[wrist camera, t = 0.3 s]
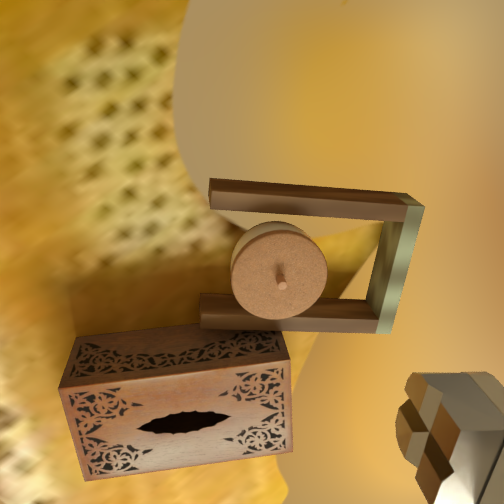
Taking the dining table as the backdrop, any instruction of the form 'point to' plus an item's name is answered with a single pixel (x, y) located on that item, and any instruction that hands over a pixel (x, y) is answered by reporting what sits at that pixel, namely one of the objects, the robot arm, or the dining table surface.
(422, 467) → the robot arm
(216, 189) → the u-shaped frame
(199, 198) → the dining table surface
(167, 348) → the tissue box cover
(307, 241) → the lidded jar
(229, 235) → the dining table surface
